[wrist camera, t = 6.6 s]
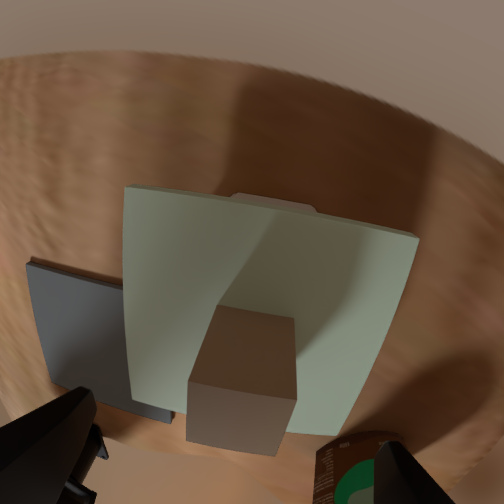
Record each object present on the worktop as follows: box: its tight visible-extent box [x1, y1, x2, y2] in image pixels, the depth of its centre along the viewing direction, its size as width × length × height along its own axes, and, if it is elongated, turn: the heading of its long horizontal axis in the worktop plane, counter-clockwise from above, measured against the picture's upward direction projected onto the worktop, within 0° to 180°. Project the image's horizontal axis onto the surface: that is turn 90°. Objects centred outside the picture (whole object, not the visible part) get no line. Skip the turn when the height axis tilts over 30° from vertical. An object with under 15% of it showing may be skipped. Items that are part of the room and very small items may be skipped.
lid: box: [123, 184, 419, 456], centre depth 11 cm, size 11×11×5 cm
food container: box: [313, 431, 408, 504], centre depth 18 cm, size 12×6×10 cm, turn 62°
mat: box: [26, 262, 172, 424], centre depth 21 cm, size 12×12×1 cm
